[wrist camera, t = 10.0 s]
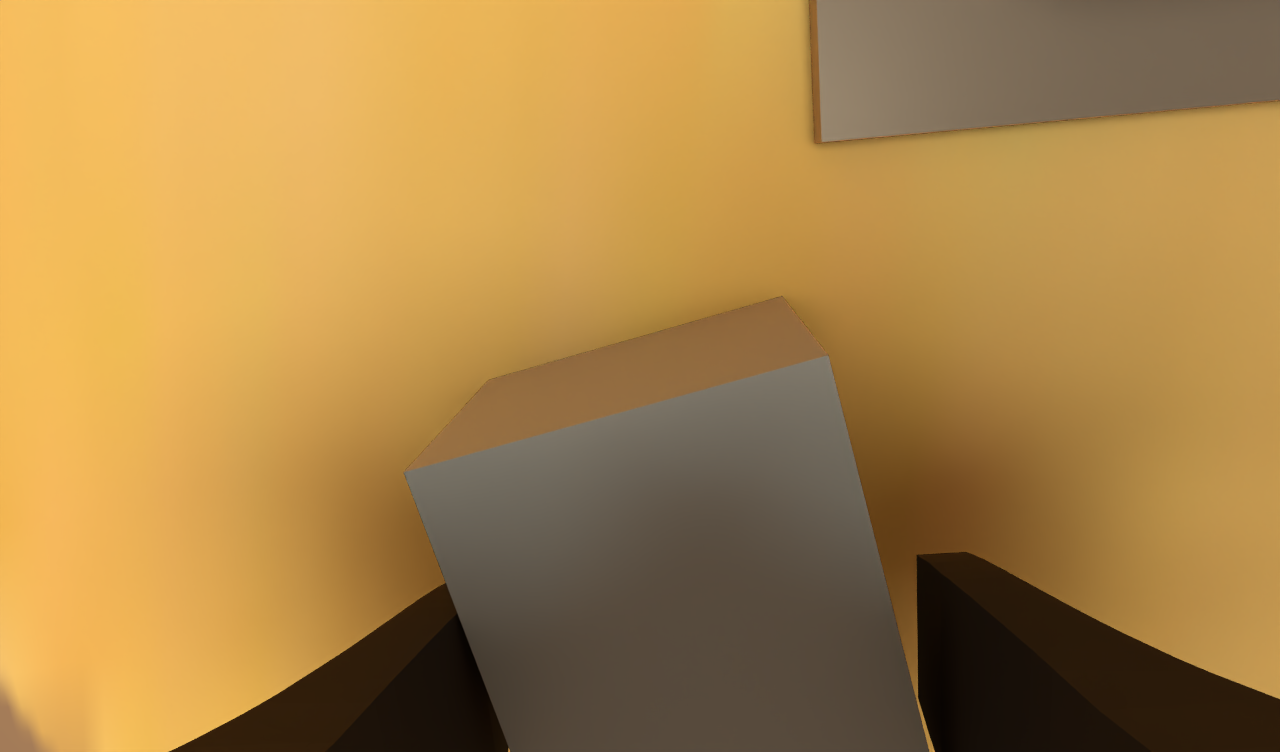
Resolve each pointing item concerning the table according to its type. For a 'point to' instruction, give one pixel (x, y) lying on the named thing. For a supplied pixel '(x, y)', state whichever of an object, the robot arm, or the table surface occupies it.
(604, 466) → the grey brick
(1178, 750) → the robot arm
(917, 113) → the baseplate
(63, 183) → the table surface
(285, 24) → the table surface
